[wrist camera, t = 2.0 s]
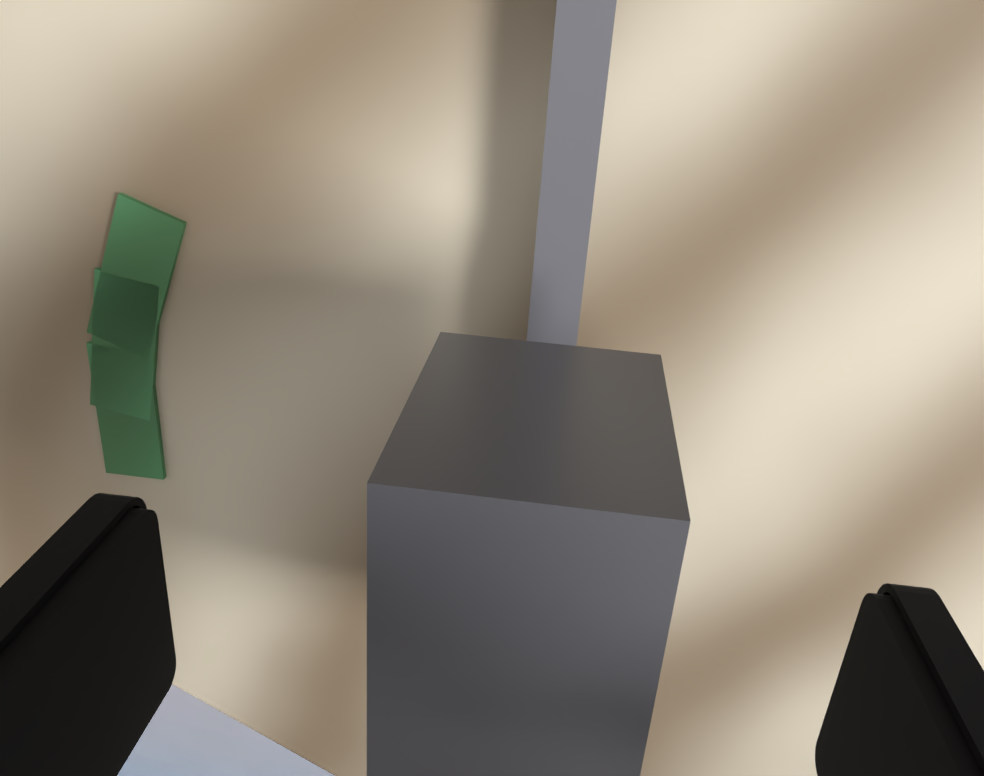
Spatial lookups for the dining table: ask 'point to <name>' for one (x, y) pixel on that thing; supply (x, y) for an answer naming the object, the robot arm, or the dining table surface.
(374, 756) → the key
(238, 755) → the dining table surface
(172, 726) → the dining table surface
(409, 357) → the wooden cutting board
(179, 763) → the dining table surface
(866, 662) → the robot arm
